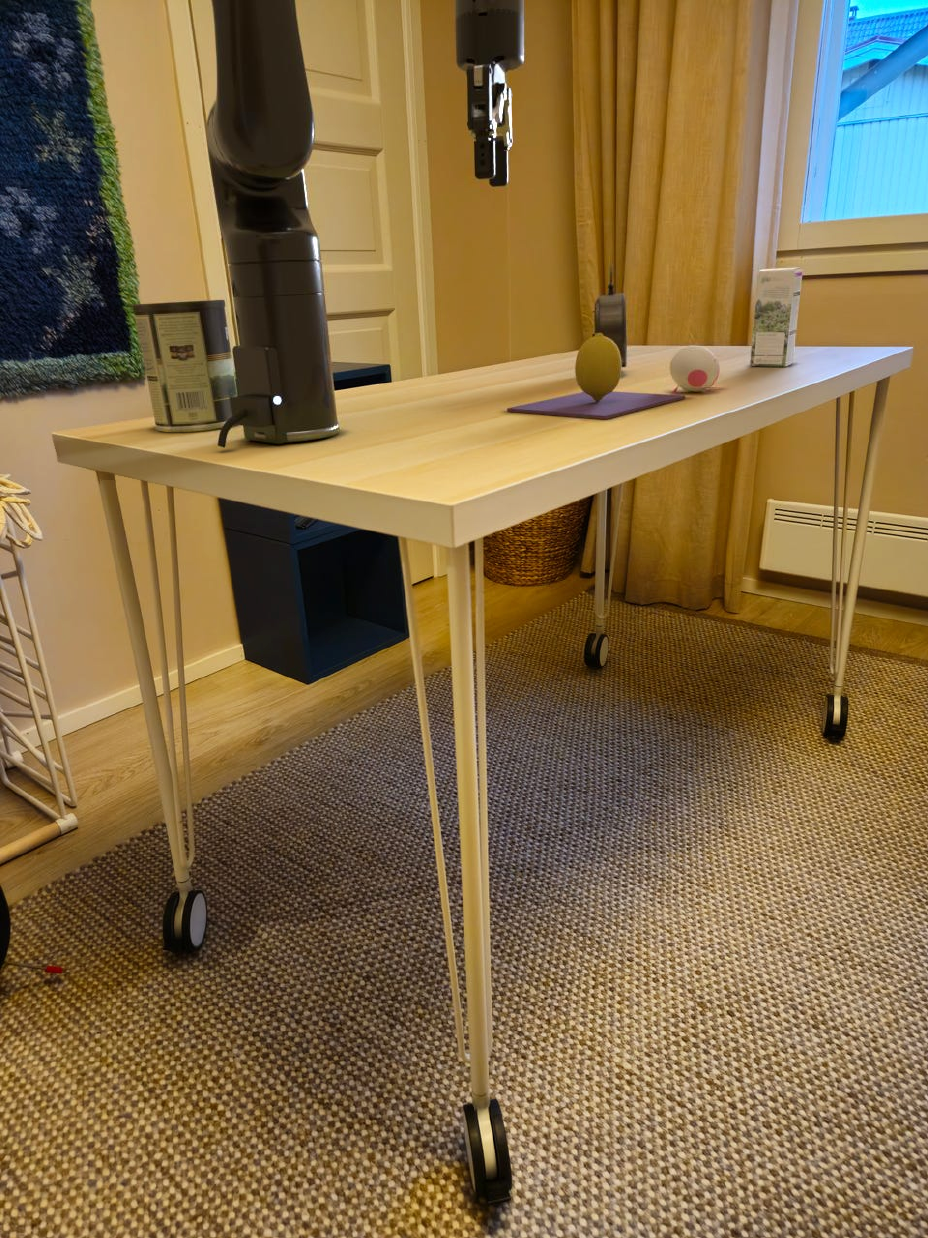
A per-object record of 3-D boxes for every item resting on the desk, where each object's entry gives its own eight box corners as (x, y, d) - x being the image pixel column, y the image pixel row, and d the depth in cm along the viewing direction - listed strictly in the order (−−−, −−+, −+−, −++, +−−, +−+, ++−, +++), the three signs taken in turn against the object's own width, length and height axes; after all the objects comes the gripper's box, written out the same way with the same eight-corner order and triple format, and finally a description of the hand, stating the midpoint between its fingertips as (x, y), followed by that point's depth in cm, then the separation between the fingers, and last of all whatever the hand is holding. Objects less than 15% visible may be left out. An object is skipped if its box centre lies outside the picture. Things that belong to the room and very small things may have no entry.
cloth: (605, 419, 91) (605, 415, 91) (507, 411, 100) (507, 408, 99) (685, 398, 103) (685, 395, 103) (591, 393, 112) (591, 390, 112)
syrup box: (794, 363, 135) (804, 266, 129) (785, 367, 130) (795, 267, 125) (758, 363, 138) (766, 268, 132) (748, 366, 133) (756, 269, 128)
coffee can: (222, 416, 107) (205, 299, 102) (256, 424, 99) (238, 298, 94) (142, 426, 101) (119, 304, 96) (171, 435, 94) (148, 303, 88)
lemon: (588, 397, 105) (589, 331, 102) (628, 399, 102) (630, 330, 99) (566, 403, 101) (566, 334, 98) (607, 405, 98) (609, 334, 95)
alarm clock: (625, 378, 126) (628, 262, 120) (589, 379, 127) (591, 264, 121) (627, 370, 136) (630, 263, 130) (594, 371, 137) (595, 265, 131)
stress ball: (717, 419, 107) (748, 373, 106) (672, 386, 104) (703, 339, 103) (691, 409, 114) (720, 366, 112) (648, 378, 111) (677, 333, 109)
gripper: (469, 36, 97) (473, 190, 103) (440, -1, 84) (446, 177, 90) (532, 30, 96) (532, 187, 102) (512, -9, 83) (513, 173, 89)
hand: (492, 182), depth 96 cm, fingers open, 8 cm apart
